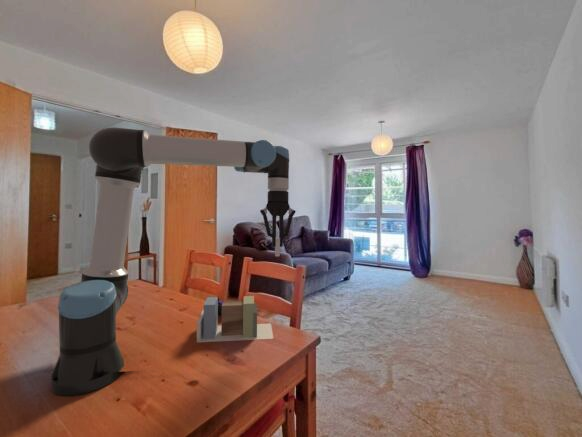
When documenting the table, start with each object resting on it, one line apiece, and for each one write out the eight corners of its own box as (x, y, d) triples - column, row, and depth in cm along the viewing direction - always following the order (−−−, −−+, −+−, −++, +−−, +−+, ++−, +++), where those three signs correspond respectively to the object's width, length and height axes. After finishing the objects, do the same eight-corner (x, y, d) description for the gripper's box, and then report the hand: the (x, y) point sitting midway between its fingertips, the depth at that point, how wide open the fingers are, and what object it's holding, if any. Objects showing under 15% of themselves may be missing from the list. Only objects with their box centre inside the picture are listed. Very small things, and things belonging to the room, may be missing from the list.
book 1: (214, 338, 92) (214, 304, 91) (203, 339, 91) (203, 305, 91) (217, 328, 99) (217, 296, 99) (207, 328, 99) (207, 297, 99)
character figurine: (217, 311, 120) (241, 321, 111) (202, 315, 114) (226, 325, 105) (219, 293, 120) (243, 301, 111) (204, 295, 115) (228, 304, 105)
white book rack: (273, 343, 92) (273, 320, 92) (196, 347, 89) (196, 323, 89) (270, 327, 104) (271, 307, 104) (202, 330, 101) (203, 309, 100)
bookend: (256, 336, 93) (257, 312, 93) (253, 337, 93) (254, 312, 92) (256, 325, 102) (256, 303, 102) (253, 325, 102) (253, 303, 101)
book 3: (253, 336, 93) (254, 303, 93) (242, 337, 93) (243, 303, 92) (253, 326, 101) (253, 295, 101) (243, 327, 101) (243, 296, 100)
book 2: (243, 334, 95) (243, 305, 94) (221, 335, 94) (221, 305, 93) (243, 329, 99) (243, 300, 99) (222, 330, 98) (222, 301, 98)
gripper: (294, 191, 107) (293, 253, 108) (259, 190, 105) (258, 254, 106) (297, 190, 100) (296, 257, 101) (260, 189, 98) (259, 257, 99)
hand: (277, 255), depth 103 cm, fingers closed
